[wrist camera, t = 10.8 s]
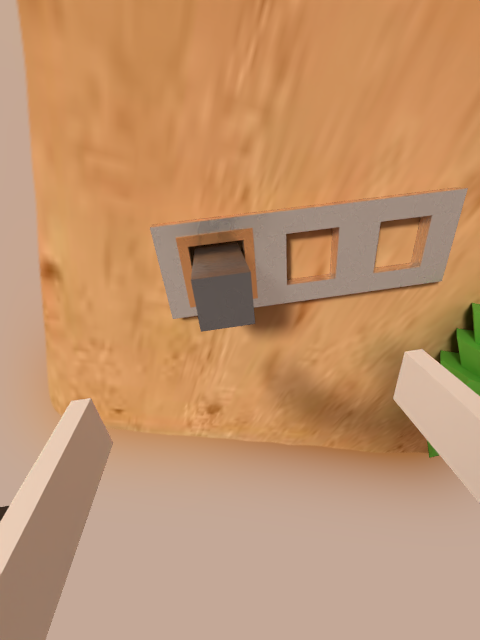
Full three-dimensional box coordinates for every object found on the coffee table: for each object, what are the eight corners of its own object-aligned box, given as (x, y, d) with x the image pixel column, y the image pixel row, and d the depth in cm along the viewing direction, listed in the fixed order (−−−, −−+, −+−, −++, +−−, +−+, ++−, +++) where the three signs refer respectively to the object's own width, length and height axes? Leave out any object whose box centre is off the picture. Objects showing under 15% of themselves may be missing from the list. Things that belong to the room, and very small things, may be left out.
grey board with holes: (152, 224, 27) (149, 227, 26) (454, 187, 29) (469, 188, 27) (174, 312, 32) (172, 319, 30) (431, 276, 34) (442, 281, 32)
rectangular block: (195, 247, 29) (190, 279, 20) (237, 242, 29) (250, 271, 20) (202, 286, 31) (201, 331, 22) (241, 281, 31) (255, 323, 22)
